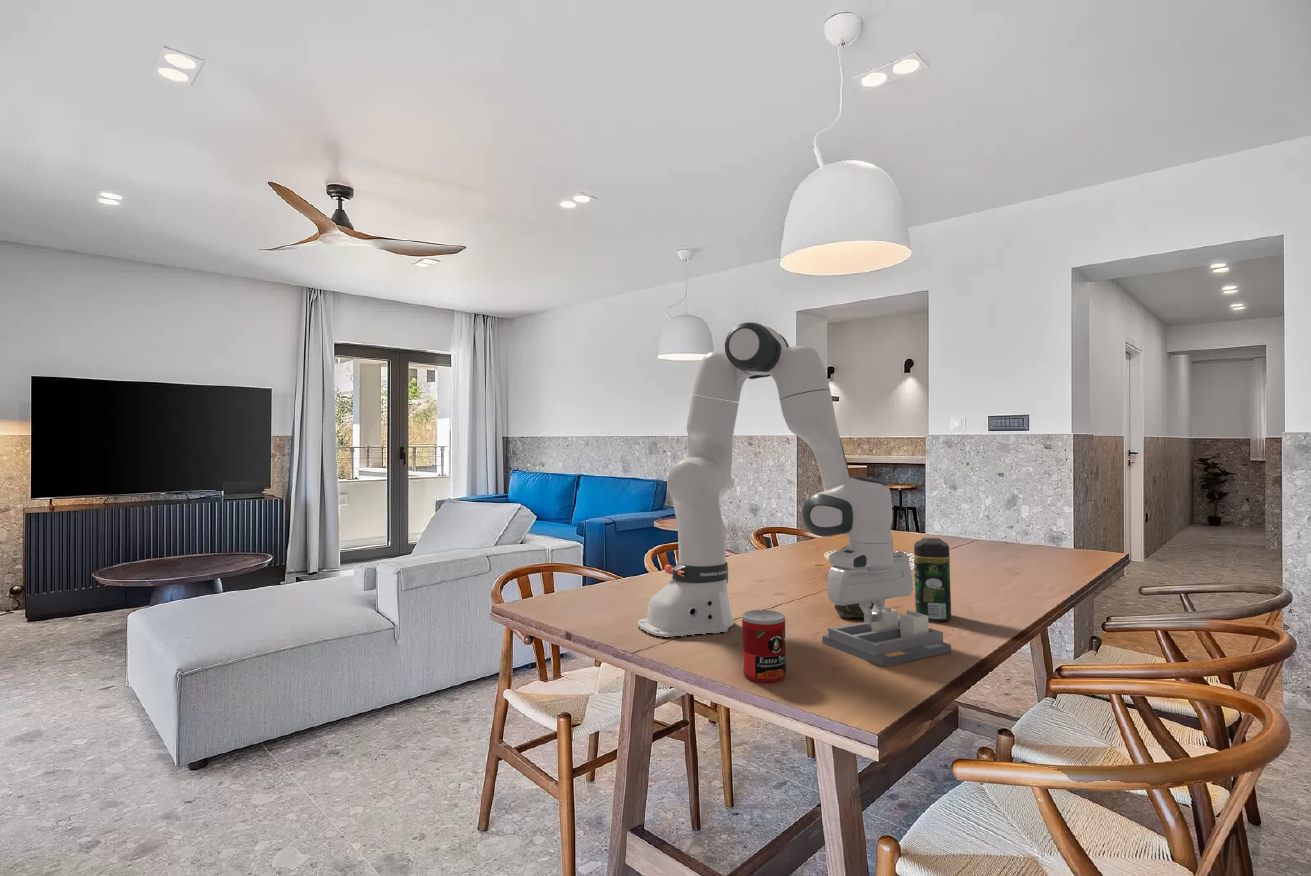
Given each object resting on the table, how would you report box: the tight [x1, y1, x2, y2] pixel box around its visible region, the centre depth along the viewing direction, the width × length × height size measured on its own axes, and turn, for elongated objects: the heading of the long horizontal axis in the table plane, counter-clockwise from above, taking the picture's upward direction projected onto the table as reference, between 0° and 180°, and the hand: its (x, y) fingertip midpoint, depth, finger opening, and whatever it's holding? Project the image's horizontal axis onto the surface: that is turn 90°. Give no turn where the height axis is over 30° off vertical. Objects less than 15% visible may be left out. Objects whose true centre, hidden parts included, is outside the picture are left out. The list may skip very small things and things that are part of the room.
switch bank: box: [821, 618, 952, 667], centre depth 137 cm, size 18×17×4 cm
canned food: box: [741, 609, 787, 684], centre depth 122 cm, size 8×8×11 cm
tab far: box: [871, 605, 899, 632], centre depth 141 cm, size 4×4×6 cm
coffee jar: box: [913, 537, 952, 623], centre depth 159 cm, size 10×8×19 cm
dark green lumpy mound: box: [834, 601, 874, 619], centre depth 162 cm, size 11×12×10 cm
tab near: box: [899, 610, 929, 638], centre depth 136 cm, size 4×4×6 cm
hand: (872, 621), depth 139 cm, fingers closed
